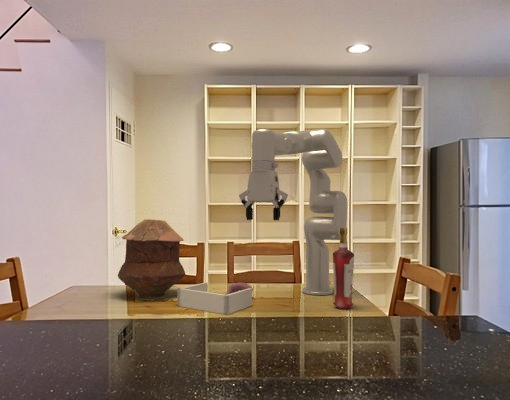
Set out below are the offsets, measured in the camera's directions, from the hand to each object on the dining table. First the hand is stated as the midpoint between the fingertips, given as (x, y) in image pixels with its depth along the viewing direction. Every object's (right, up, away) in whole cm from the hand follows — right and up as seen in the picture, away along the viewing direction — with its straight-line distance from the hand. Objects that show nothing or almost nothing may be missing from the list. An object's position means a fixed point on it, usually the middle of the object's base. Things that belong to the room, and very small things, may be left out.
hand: (262, 220), depth 127 cm
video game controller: (-8, -32, +24) cm, 40 cm away
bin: (-16, -31, +11) cm, 37 cm away
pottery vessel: (-44, -31, +28) cm, 60 cm away
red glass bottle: (+28, -31, +9) cm, 43 cm away
